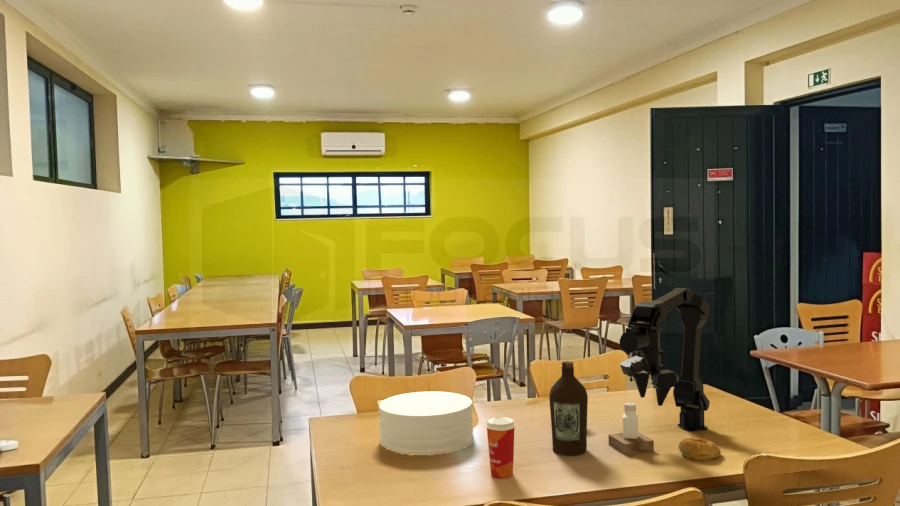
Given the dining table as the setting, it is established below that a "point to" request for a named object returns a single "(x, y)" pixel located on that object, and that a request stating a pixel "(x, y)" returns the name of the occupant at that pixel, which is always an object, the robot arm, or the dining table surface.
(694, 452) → the bagel
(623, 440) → the walnut block
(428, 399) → the plate stack
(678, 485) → the dining table surface
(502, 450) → the paper cup
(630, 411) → the pepper shaker
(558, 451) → the olive oil
